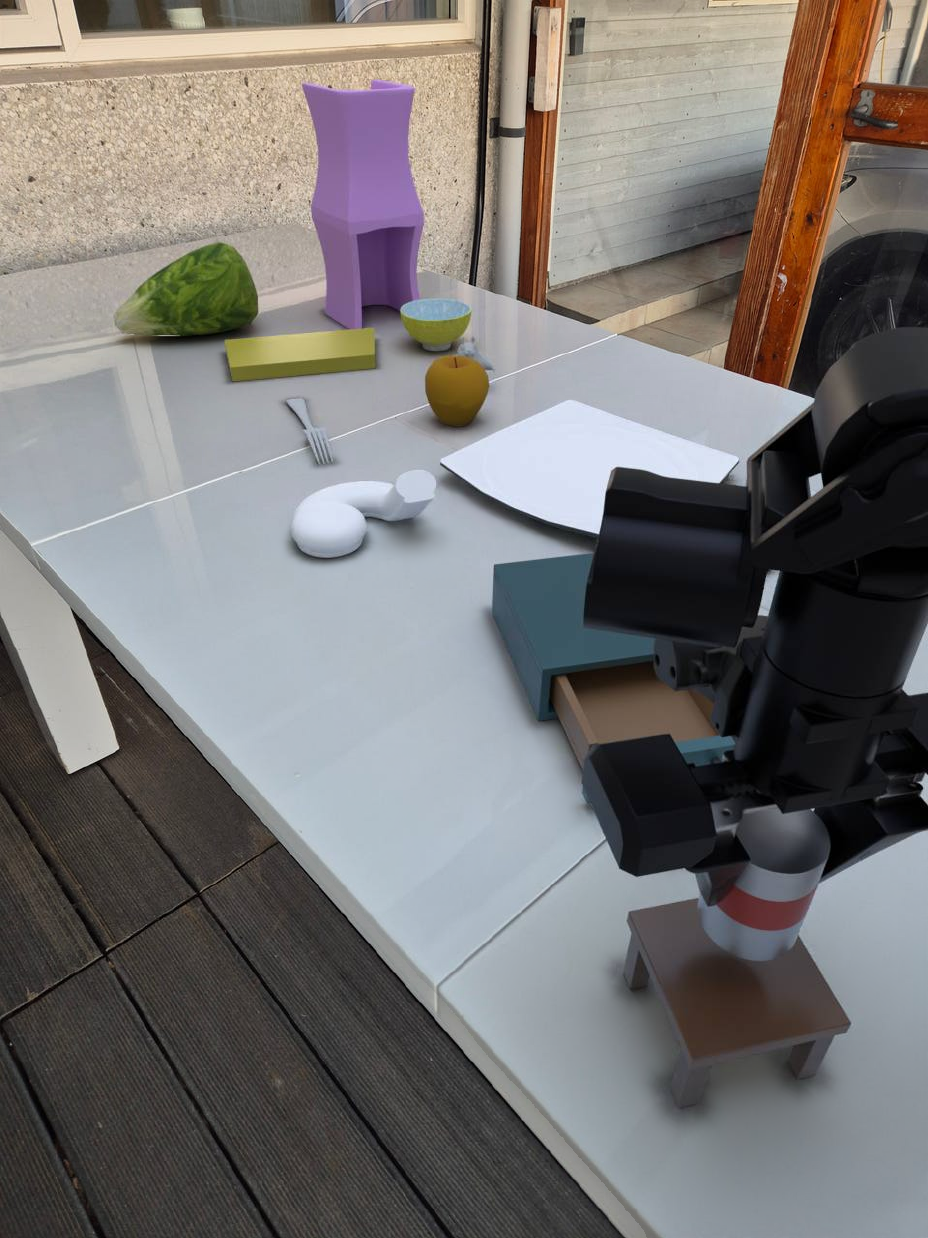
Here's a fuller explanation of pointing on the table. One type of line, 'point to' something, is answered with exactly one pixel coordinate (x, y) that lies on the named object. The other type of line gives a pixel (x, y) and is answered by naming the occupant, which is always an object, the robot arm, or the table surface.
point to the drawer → (634, 712)
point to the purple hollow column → (365, 198)
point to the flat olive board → (301, 354)
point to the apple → (456, 389)
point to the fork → (311, 429)
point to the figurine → (473, 353)
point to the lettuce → (193, 296)
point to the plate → (576, 463)
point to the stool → (729, 997)
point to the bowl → (436, 321)
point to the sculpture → (357, 511)
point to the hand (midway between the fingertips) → (757, 888)
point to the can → (770, 885)
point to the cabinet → (555, 625)
